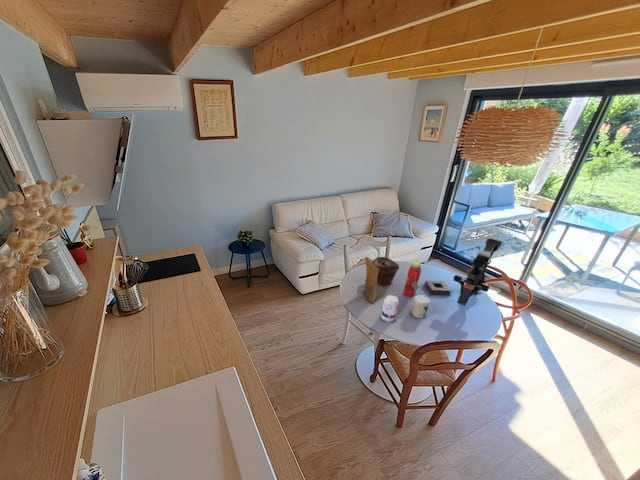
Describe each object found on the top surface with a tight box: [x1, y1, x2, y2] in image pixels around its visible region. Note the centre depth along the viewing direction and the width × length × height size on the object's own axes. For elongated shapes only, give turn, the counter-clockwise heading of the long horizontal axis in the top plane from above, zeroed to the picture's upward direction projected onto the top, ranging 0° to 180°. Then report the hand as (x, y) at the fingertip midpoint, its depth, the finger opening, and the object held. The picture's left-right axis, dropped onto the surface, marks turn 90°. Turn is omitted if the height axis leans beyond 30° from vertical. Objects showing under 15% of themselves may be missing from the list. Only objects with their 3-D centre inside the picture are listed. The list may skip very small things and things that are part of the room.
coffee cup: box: [410, 294, 431, 319], centre depth 177 cm, size 9×9×12 cm
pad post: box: [456, 283, 475, 306], centre depth 175 cm, size 5×5×13 cm
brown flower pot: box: [372, 256, 400, 287], centre depth 211 cm, size 18×20×18 cm
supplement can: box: [380, 294, 400, 323], centre depth 173 cm, size 8×8×15 cm
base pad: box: [424, 280, 452, 296], centre depth 203 cm, size 13×13×4 cm
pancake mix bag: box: [363, 255, 379, 304], centre depth 191 cm, size 7×19×28 cm, turn 2°
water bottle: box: [403, 261, 422, 297], centre depth 192 cm, size 12×8×25 cm, turn 167°
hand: (465, 295), depth 174 cm, fingers closed on pad post, 5 cm apart
